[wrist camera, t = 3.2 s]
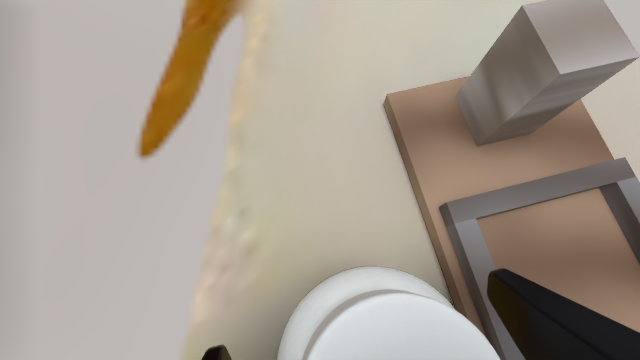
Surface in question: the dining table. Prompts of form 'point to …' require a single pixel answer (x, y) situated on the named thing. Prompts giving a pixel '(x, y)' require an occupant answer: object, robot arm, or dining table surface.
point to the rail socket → (527, 168)
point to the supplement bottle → (380, 321)
